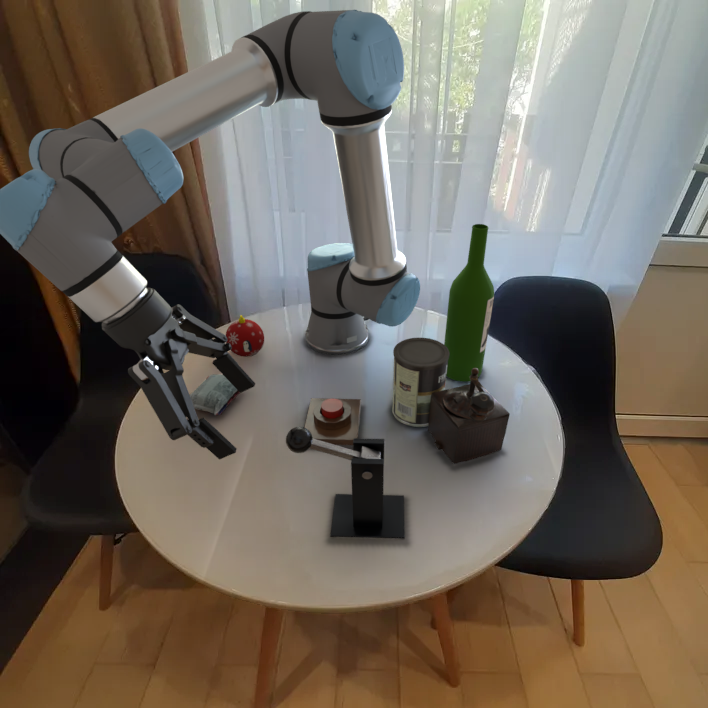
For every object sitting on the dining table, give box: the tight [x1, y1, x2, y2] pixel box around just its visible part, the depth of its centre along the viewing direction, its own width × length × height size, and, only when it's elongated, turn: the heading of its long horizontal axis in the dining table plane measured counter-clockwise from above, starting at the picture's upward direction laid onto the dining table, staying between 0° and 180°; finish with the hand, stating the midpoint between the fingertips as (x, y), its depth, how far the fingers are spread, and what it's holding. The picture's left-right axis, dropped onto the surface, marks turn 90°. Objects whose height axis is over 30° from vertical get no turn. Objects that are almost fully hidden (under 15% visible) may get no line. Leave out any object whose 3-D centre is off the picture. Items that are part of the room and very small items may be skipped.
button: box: [321, 398, 343, 419], centre depth 91 cm, size 4×4×2 cm
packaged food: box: [189, 373, 241, 416], centre depth 97 cm, size 9×12×5 cm
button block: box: [303, 397, 362, 446], centre depth 92 cm, size 12×10×4 cm
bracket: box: [329, 437, 406, 539], centre depth 71 cm, size 11×8×15 cm
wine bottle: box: [443, 223, 495, 383], centre depth 100 cm, size 9×9×32 cm
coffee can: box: [391, 337, 449, 428], centre depth 93 cm, size 10×10×14 cm
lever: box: [285, 426, 381, 461], centre depth 67 cm, size 13×4×4 cm, turn 89°
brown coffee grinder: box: [426, 368, 510, 465], centre depth 83 cm, size 16×11×18 cm
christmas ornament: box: [225, 314, 265, 358], centre depth 111 cm, size 9×9×10 cm
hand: (238, 418), depth 70 cm, fingers open, 13 cm apart
